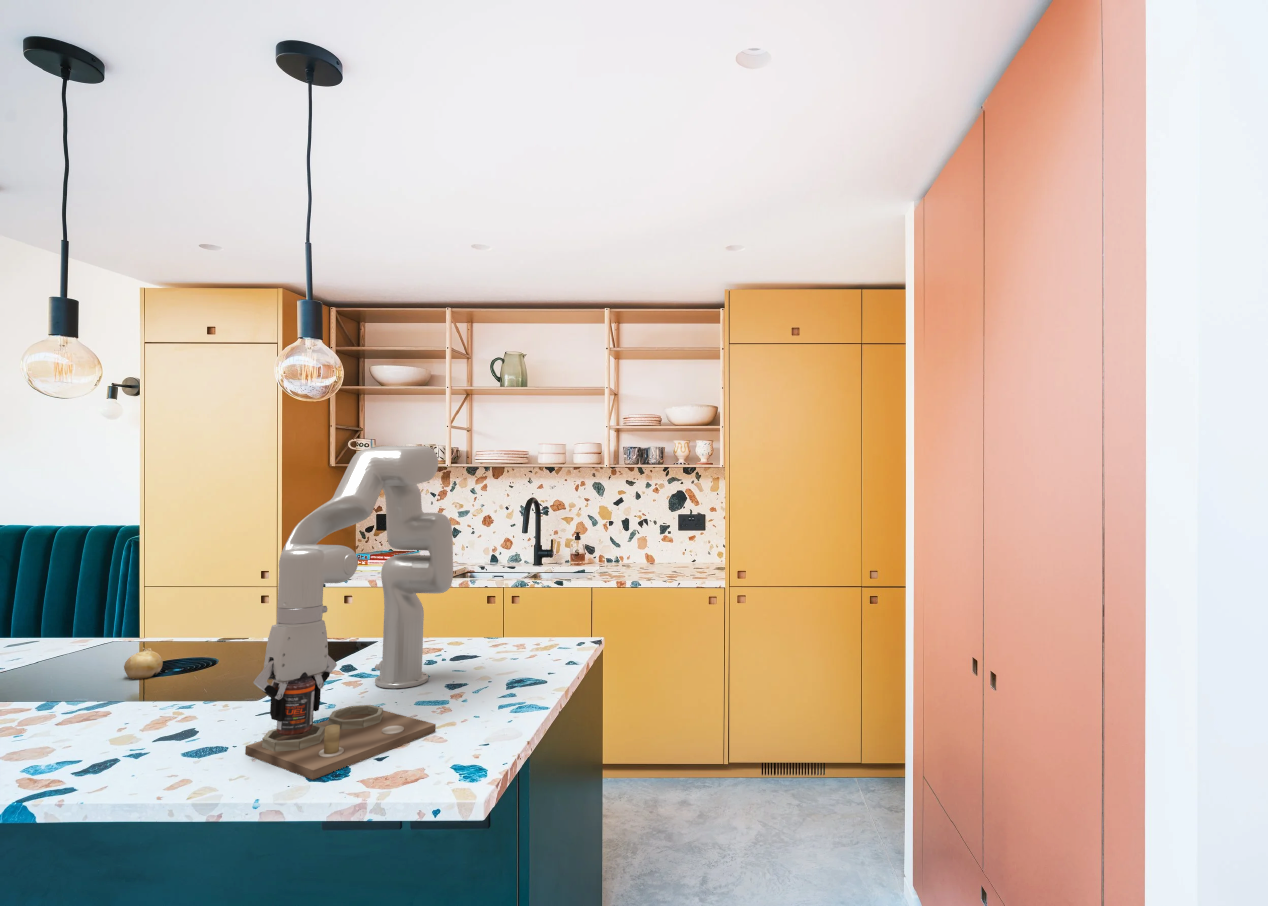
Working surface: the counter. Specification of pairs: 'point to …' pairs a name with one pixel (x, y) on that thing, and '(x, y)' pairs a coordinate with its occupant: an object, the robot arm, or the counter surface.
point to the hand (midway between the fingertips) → (295, 713)
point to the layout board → (339, 740)
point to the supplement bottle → (298, 706)
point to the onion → (143, 664)
